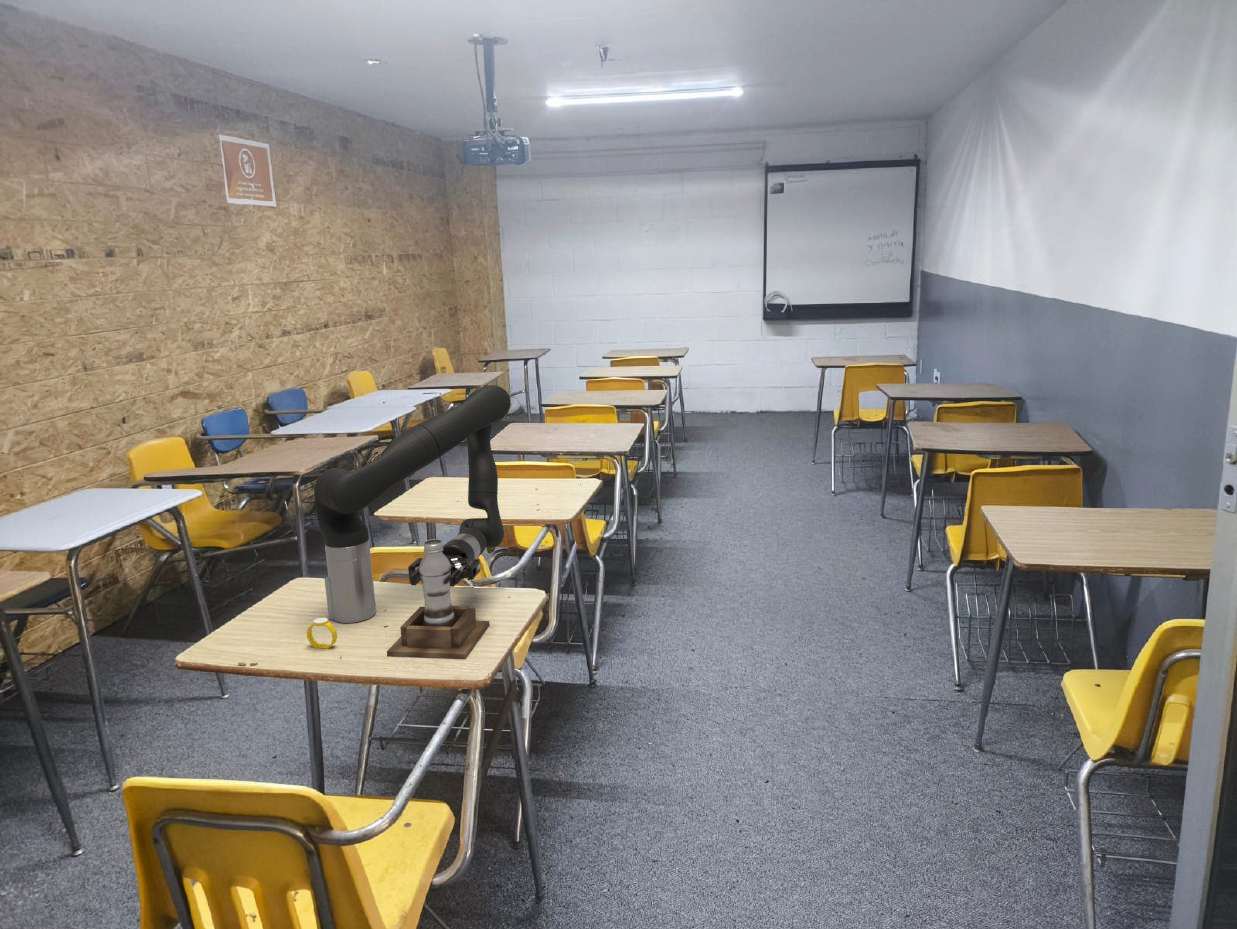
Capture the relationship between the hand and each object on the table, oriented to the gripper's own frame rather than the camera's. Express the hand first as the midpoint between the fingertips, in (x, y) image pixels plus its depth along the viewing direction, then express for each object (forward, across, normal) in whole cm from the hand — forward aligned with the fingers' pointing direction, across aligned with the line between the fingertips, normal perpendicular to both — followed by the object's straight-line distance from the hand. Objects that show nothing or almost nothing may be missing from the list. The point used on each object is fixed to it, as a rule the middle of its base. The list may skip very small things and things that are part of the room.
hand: (431, 581), depth 157 cm
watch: (+3, -23, +14) cm, 27 cm away
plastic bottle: (-2, 0, +13) cm, 13 cm away
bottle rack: (-2, 0, +14) cm, 14 cm away
